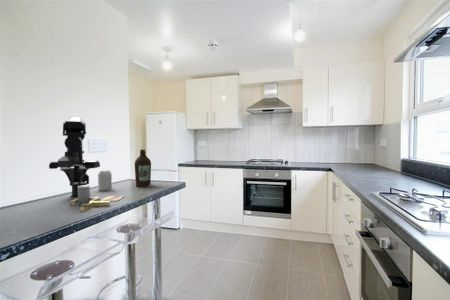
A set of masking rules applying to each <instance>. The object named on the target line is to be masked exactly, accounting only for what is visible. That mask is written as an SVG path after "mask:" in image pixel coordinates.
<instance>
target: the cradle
mask: <svg viewBox="0 0 450 300" xmlns="http://www.w3.org/2000/svg"><path fill="white" fill-rule="evenodd" d="M100 200H101V197H100V196H90V201H89V202H92V201H100ZM76 205H78V197H77V198H74V199H72V200H70V201H69V206H76Z"/></svg>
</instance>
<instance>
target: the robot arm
mask: <svg viewBox="0 0 450 300" xmlns="http://www.w3.org/2000/svg"><path fill="white" fill-rule="evenodd" d="M86 124H87V123H85V121H83V120H82V117H80V116H71V117H69V120H65V121H64V122H63V125H62V136H63V137H64V136H65V137H66V138H65V139H64V146H65V148H66V151H64V155H63V156H62V157H60V158H58V159H57V160H55V161H51V162H50V163H49V164H48V168H49V170H50V169H51V170H53V169H54V170H56V169H58V168H60V169H59V171H61V172H64V174H65V175H66V176H67V179H68V181H69V187H71V195H70V197H71V198H72V197H78V186H81V185H90V176H89V175H88V173H87V172H88V170H90V169H96V168H99V167H101V163H100V162H99V160H89V161H85V160H84V159H83V154H84V153H85V150H83V140H84V139H85V137H86V135H87V125H86Z"/></svg>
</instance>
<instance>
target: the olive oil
mask: <svg viewBox="0 0 450 300" xmlns="http://www.w3.org/2000/svg"><path fill="white" fill-rule="evenodd" d="M134 173H135V187H136V188H147V187H146V186H148V187H150V186H151V178H152V174H151V173H152V162H151V160H150V158H149V157H148V156H147V154H146V149H140V150H139V156H138V157H137V158H136V159H135V160H134ZM149 185H150V186H149Z"/></svg>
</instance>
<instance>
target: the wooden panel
mask: <svg viewBox="0 0 450 300" xmlns="http://www.w3.org/2000/svg"><path fill="white" fill-rule="evenodd" d="M124 197H125V195H111V196H109V195H108V196H106V197H104V198H101V199H100V201H110V202H119V201H120V200H121V199H123V198H124Z"/></svg>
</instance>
